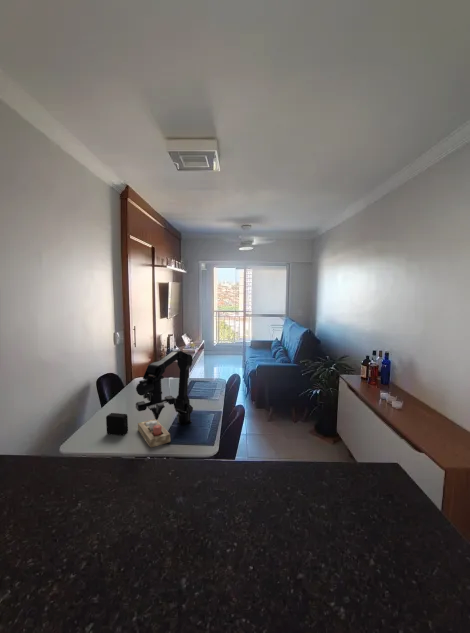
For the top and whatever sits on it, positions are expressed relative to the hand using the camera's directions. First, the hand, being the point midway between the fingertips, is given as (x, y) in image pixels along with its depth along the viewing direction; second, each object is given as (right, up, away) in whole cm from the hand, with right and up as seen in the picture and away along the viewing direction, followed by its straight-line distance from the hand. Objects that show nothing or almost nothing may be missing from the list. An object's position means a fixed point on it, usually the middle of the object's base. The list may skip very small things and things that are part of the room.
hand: (156, 419), depth 148 cm
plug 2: (-3, -7, +6) cm, 10 cm away
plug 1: (-7, -10, +11) cm, 16 cm away
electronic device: (-23, -11, +10) cm, 27 cm away
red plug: (0, -8, 0) cm, 8 cm away
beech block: (-3, -11, +6) cm, 13 cm away
